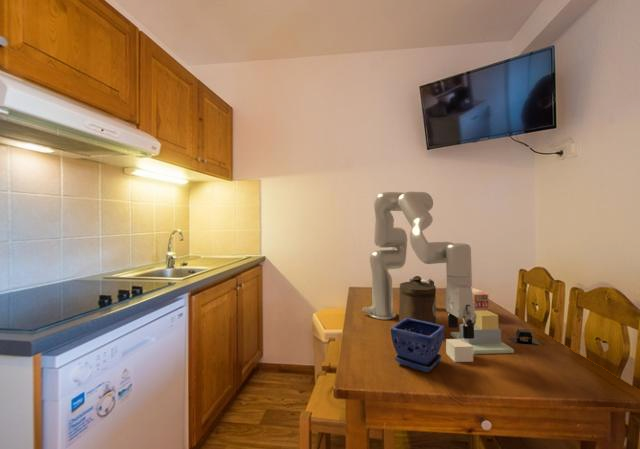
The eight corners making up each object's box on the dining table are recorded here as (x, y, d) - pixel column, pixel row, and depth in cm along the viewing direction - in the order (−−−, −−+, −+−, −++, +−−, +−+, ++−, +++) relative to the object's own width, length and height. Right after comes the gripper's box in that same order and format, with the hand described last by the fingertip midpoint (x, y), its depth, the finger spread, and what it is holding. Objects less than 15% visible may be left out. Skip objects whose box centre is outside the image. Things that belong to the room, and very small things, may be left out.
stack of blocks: (452, 306, 150) (452, 283, 150) (464, 306, 150) (464, 283, 150) (474, 321, 128) (474, 294, 128) (488, 321, 128) (488, 293, 128)
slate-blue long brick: (468, 344, 102) (468, 330, 102) (459, 337, 108) (459, 324, 108) (501, 343, 102) (501, 329, 102) (490, 336, 108) (490, 323, 108)
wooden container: (443, 332, 116) (443, 278, 116) (410, 336, 113) (410, 280, 112) (423, 320, 130) (422, 272, 130) (393, 323, 127) (392, 274, 127)
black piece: (538, 340, 108) (538, 328, 108) (548, 349, 101) (548, 336, 101) (501, 337, 111) (502, 325, 111) (509, 345, 104) (509, 332, 104)
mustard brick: (481, 329, 102) (481, 315, 102) (472, 323, 108) (472, 310, 108) (498, 329, 102) (498, 315, 102) (488, 323, 108) (487, 310, 108)
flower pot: (406, 350, 100) (406, 316, 100) (445, 361, 92) (445, 324, 92) (389, 364, 90) (389, 327, 90) (432, 379, 82) (432, 337, 82)
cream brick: (454, 362, 91) (454, 346, 91) (446, 353, 97) (446, 339, 97) (473, 361, 92) (473, 346, 92) (463, 353, 98) (463, 338, 98)
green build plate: (473, 353, 97) (473, 350, 97) (450, 335, 113) (450, 332, 113) (513, 352, 97) (513, 349, 97) (485, 334, 113) (485, 331, 113)
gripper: (436, 276, 103) (437, 324, 102) (461, 286, 85) (463, 343, 85) (456, 276, 103) (458, 323, 103) (486, 285, 86) (487, 342, 85)
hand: (460, 332), depth 94 cm, fingers open, 9 cm apart
